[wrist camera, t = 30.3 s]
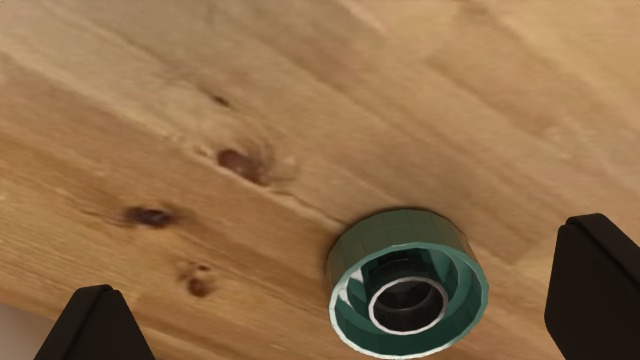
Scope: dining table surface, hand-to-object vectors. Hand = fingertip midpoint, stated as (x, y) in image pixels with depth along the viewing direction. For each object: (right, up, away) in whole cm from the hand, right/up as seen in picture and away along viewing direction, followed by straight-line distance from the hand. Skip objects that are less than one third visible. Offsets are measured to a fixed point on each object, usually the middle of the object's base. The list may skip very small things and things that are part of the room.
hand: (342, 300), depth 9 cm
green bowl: (+7, -6, +34) cm, 35 cm away
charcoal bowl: (+7, -6, +33) cm, 35 cm away
